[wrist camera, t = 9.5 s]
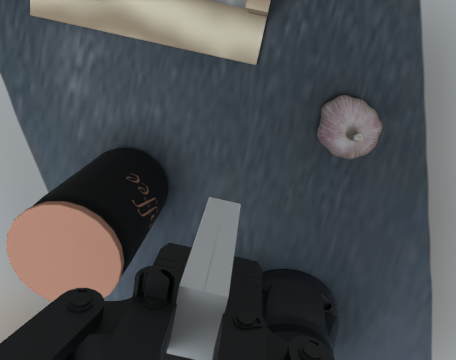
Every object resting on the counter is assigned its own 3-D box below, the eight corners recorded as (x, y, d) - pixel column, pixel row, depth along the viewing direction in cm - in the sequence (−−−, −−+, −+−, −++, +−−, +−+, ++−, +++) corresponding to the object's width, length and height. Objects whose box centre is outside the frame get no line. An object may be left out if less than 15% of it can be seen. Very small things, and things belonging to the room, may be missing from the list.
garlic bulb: (312, 95, 43) (323, 107, 36) (377, 88, 43) (401, 99, 35) (315, 156, 46) (325, 179, 39) (376, 151, 45) (399, 173, 38)
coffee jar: (167, 224, 51) (121, 314, 35) (92, 213, 52) (11, 297, 35) (171, 151, 47) (122, 213, 31) (90, 140, 48) (-2, 195, 31)
